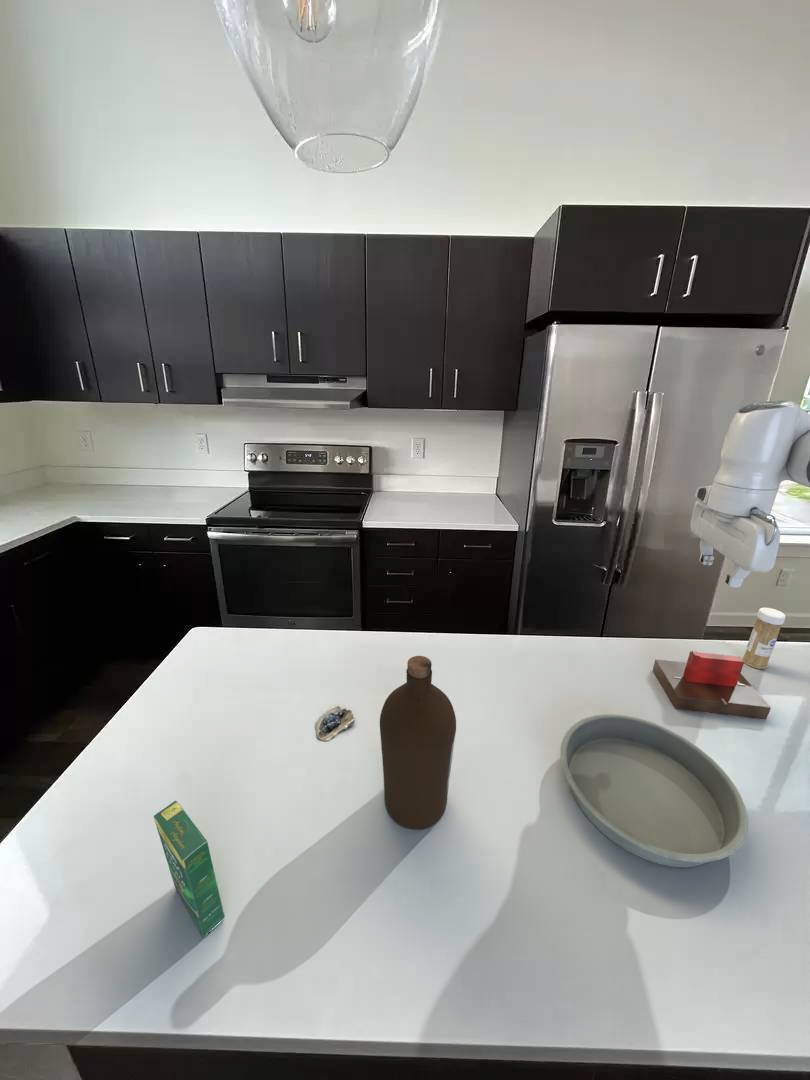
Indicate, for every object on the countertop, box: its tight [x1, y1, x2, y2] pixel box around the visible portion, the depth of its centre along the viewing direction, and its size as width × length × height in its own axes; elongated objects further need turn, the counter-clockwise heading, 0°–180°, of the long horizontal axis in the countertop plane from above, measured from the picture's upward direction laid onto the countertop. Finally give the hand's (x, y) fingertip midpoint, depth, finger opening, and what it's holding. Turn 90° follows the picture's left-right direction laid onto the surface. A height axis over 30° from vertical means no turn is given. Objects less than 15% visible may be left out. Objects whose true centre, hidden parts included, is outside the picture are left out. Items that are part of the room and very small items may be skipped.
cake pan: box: [559, 713, 749, 868], centre depth 65 cm, size 25×25×4 cm
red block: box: [683, 650, 745, 687], centre depth 85 cm, size 9×2×6 cm, turn 80°
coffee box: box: [153, 800, 226, 938], centre depth 49 cm, size 8×3×13 cm, turn 49°
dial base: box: [651, 659, 772, 721], centre depth 87 cm, size 16×13×3 cm
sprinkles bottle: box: [742, 607, 787, 670], centre depth 95 cm, size 5×5×13 cm
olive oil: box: [379, 655, 457, 830], centre depth 60 cm, size 11×11×25 cm
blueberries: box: [314, 705, 356, 742], centre depth 78 cm, size 7×8×2 cm
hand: (718, 574), depth 78 cm, fingers open, 8 cm apart
